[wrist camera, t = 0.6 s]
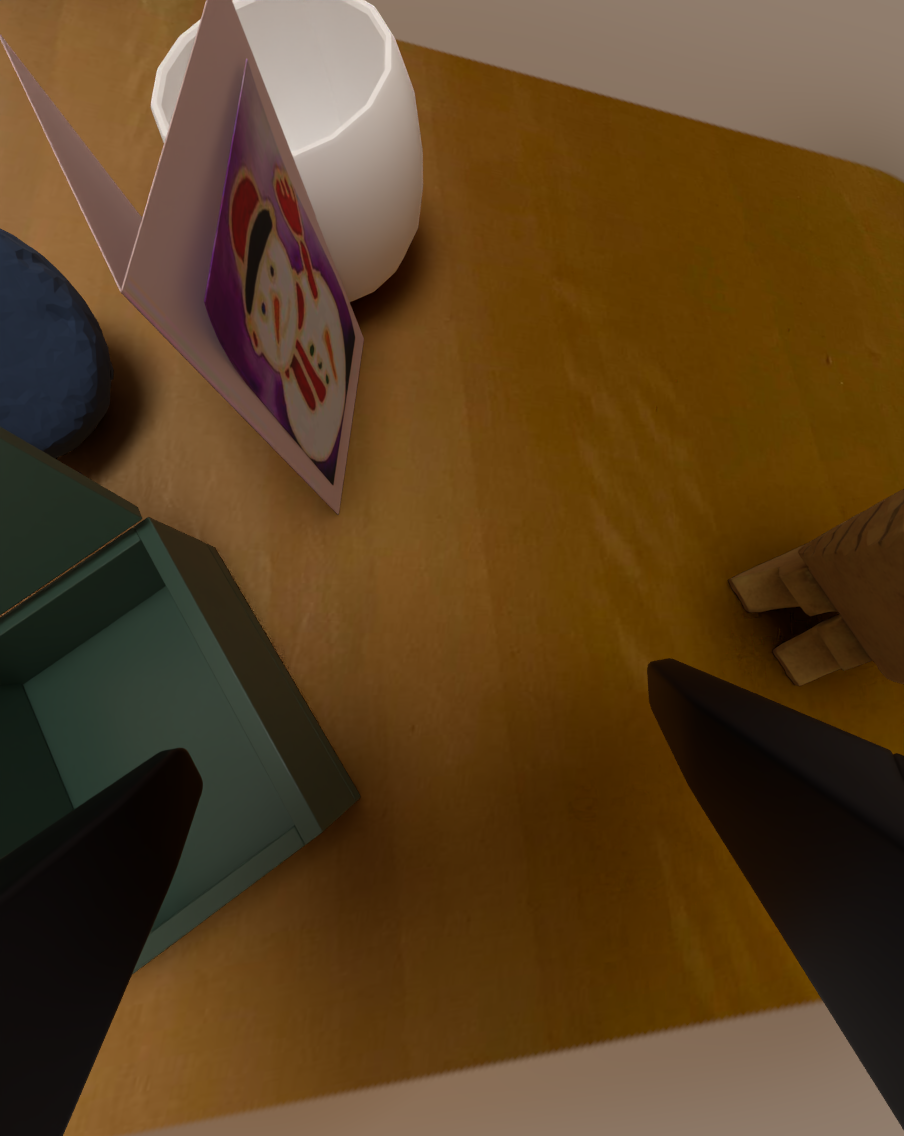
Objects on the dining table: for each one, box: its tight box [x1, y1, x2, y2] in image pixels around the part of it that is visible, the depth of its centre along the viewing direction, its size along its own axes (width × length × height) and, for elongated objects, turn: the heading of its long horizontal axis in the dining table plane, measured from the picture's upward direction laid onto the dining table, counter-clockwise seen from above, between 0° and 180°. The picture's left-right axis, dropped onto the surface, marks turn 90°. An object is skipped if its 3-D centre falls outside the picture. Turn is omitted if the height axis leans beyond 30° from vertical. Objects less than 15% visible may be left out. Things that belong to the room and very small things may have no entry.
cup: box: [151, 0, 423, 302], centre depth 24 cm, size 12×12×10 cm
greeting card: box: [0, 0, 364, 515], centre depth 19 cm, size 11×7×15 cm, turn 175°
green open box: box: [0, 517, 360, 974], centre depth 21 cm, size 16×13×5 cm
